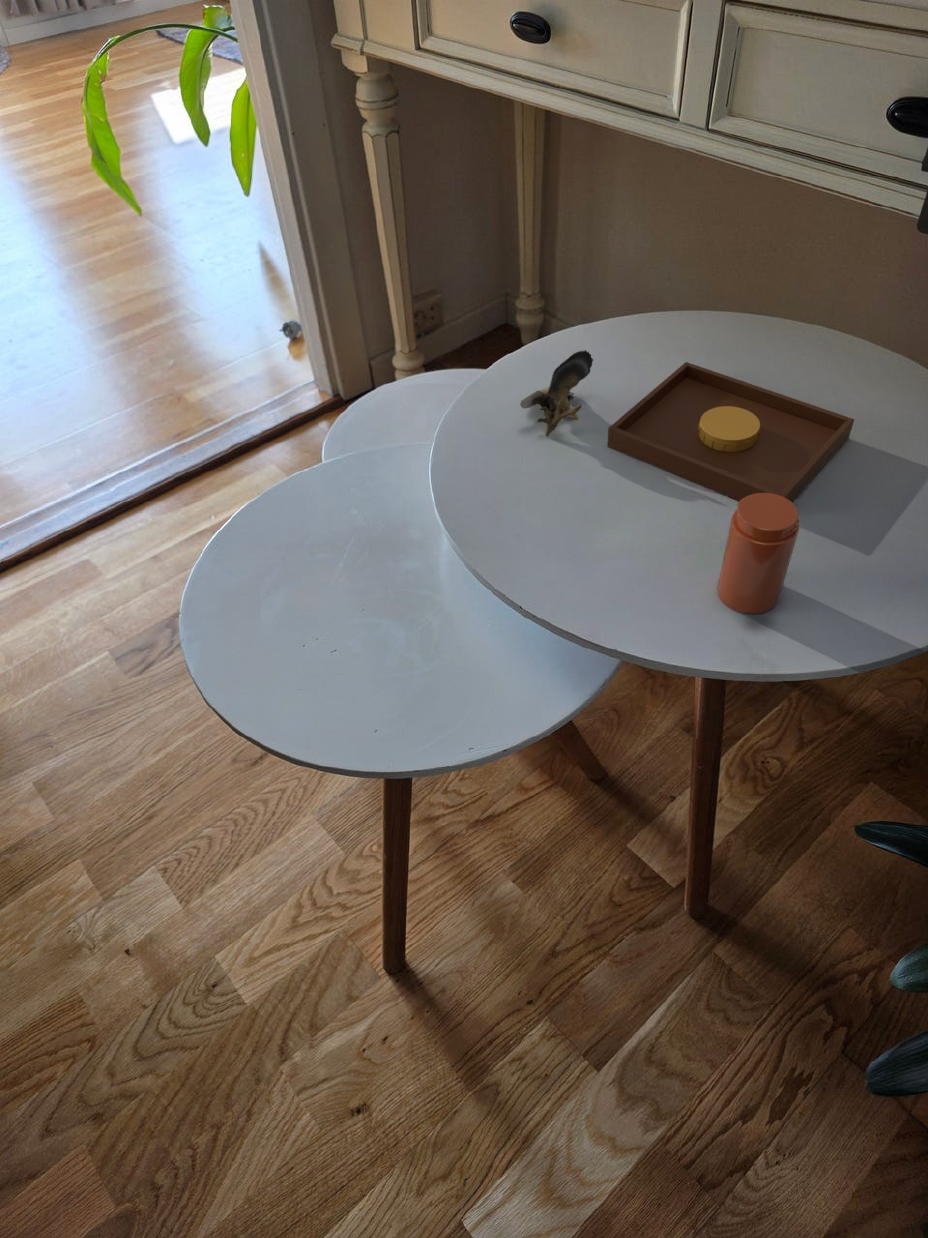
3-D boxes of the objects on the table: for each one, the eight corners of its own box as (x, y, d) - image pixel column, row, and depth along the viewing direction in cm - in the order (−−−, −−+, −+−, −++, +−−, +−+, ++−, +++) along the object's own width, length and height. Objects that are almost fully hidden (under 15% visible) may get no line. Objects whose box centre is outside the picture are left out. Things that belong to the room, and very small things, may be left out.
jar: (790, 588, 75) (814, 506, 68) (761, 623, 73) (783, 542, 66) (735, 563, 78) (753, 481, 71) (705, 596, 75) (721, 515, 68)
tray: (848, 437, 89) (854, 418, 87) (778, 517, 81) (783, 498, 80) (683, 379, 98) (685, 361, 96) (606, 446, 90) (608, 427, 89)
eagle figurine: (601, 431, 90) (608, 371, 95) (564, 386, 86) (573, 325, 90) (541, 455, 95) (551, 397, 99) (502, 414, 91) (514, 354, 95)
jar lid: (685, 432, 90) (687, 420, 89) (727, 411, 92) (729, 399, 91) (728, 460, 86) (730, 447, 85) (770, 437, 88) (773, 424, 87)
